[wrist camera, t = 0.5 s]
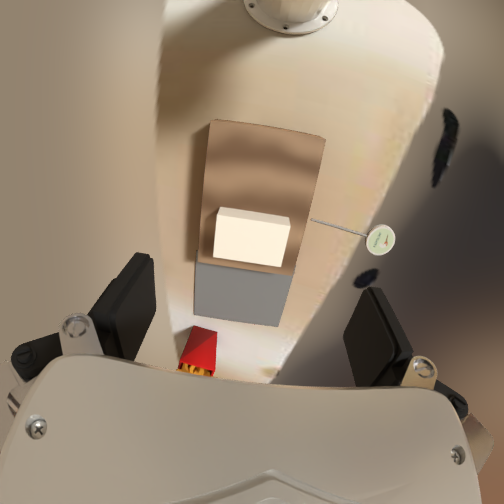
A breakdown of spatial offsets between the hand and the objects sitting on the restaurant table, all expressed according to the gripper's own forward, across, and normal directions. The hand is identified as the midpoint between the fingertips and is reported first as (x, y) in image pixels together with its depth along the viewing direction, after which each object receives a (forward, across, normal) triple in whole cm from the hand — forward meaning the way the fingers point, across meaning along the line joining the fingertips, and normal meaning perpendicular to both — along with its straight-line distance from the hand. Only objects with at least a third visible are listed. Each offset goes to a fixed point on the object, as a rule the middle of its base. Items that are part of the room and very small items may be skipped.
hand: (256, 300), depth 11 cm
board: (+28, 0, +4) cm, 29 cm away
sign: (+29, -16, +7) cm, 34 cm away
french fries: (+29, +5, +34) cm, 45 cm away
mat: (+29, 0, +21) cm, 36 cm away
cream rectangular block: (+24, 0, +8) cm, 26 cm away
